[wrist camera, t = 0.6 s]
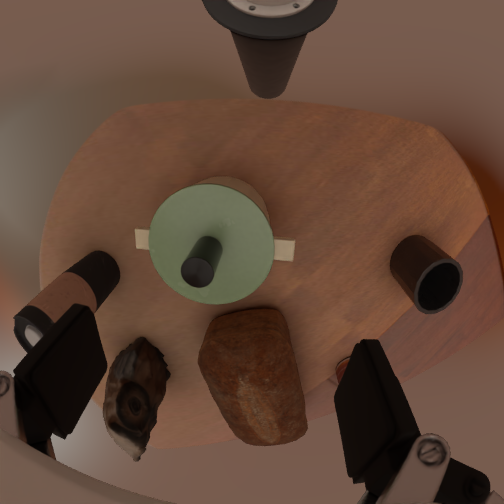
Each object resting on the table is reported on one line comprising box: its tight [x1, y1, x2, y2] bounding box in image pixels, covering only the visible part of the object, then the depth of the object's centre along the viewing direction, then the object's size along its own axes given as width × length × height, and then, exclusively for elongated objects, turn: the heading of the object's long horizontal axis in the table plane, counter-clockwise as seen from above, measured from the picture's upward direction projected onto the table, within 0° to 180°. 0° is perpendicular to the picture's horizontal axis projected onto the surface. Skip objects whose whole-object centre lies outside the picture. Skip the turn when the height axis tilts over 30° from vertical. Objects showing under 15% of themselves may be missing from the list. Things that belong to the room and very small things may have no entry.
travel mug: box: [14, 251, 120, 353], centre depth 33 cm, size 8×8×20 cm
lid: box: [148, 183, 275, 304], centre depth 27 cm, size 14×14×7 cm
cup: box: [390, 235, 463, 314], centre depth 35 cm, size 8×8×9 cm
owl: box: [103, 337, 171, 461], centre depth 41 cm, size 13×13×20 cm
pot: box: [135, 176, 296, 261], centre depth 34 cm, size 13×18×10 cm
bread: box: [198, 309, 308, 446], centre depth 43 cm, size 14×28×12 cm, turn 14°
